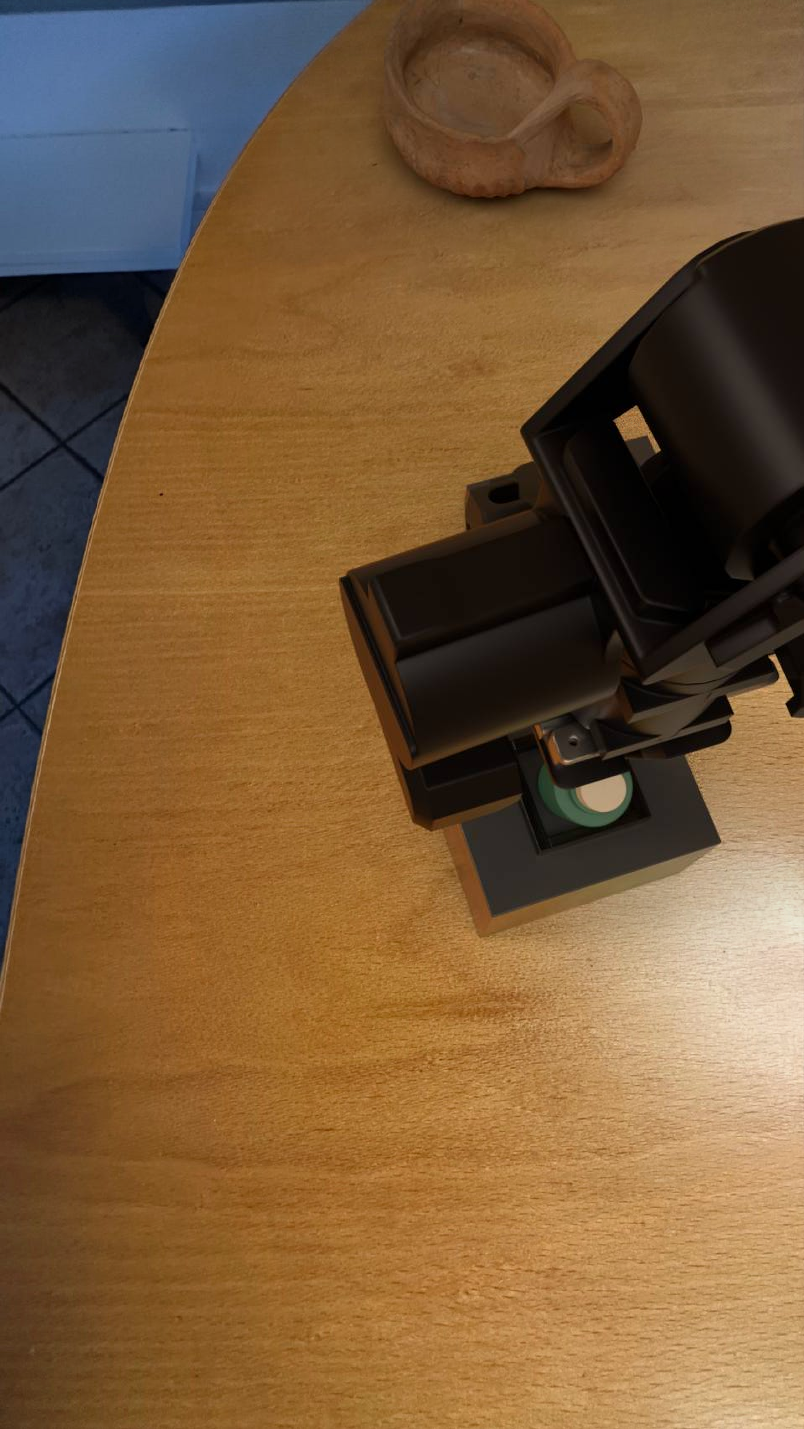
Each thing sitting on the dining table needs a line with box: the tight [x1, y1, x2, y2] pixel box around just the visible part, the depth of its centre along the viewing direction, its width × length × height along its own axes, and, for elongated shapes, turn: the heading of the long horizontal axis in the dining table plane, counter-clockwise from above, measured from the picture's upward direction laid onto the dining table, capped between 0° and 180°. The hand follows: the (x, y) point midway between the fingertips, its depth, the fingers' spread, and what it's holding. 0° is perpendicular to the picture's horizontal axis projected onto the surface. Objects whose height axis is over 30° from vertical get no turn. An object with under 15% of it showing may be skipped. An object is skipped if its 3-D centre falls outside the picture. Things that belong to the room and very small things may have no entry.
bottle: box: [538, 763, 633, 827], centre depth 49 cm, size 4×4×6 cm
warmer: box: [441, 727, 722, 939], centre depth 56 cm, size 12×10×9 cm
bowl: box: [381, 0, 643, 199], centre depth 72 cm, size 18×14×10 cm
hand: (587, 747), depth 48 cm, fingers closed, pressing on bottle
